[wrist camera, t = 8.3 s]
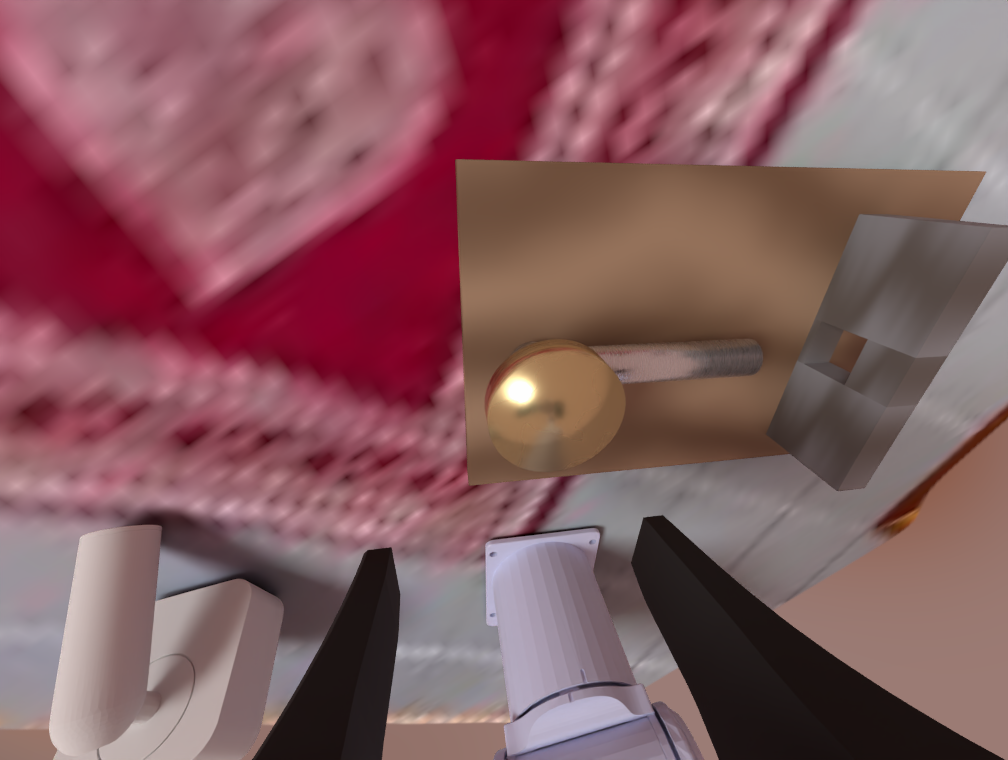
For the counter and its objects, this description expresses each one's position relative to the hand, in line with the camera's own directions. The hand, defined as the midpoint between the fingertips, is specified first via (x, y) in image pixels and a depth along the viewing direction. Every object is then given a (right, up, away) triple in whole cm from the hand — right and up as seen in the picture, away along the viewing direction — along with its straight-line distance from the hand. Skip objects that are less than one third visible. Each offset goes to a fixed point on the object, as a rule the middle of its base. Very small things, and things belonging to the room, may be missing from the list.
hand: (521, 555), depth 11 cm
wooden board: (+9, +7, +10) cm, 15 cm away
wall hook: (-20, -7, +13) cm, 24 cm away
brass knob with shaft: (+5, +6, +7) cm, 11 cm away
